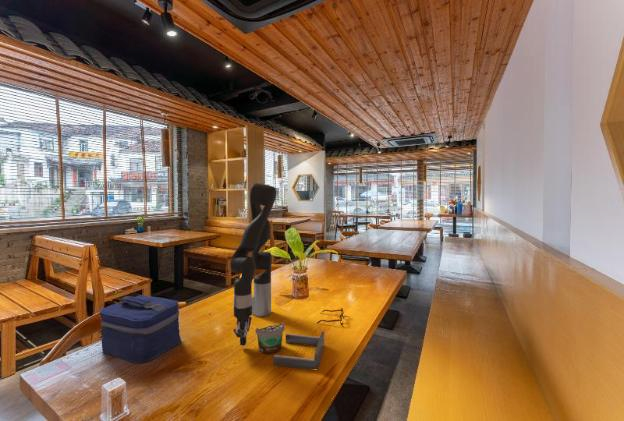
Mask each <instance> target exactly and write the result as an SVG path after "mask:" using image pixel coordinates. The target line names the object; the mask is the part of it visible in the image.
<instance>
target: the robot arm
mask: <svg viewBox="0 0 624 421" xmlns="http://www.w3.org/2000/svg"><path fill="white" fill-rule="evenodd" d="M249 190H250V191H249V204H250V213H251V219H250V220H251V222H249V224H248V225H247V226H246V227H245V229H244V231H243V234H242V237H241V241H240V244H239V245H238V247H237V248H236V249H235V250H234V251H235V252H234V253H233V254H232V256H231V258H230V262H229V267H230V270H232V272H234V273H239V274H241V277H238V278H236V279H235V280H234V283H233V317H234V318H235V319H236V327H235V328H233V332H234V335H235V336H236V338H239V345H240V346H243V347H244V346H246V345H247V336H248V332H249V331H250V327H251V323H252V319H253V318H252V315H253V316H255V317H261V318H262V317H267V316H270V315H271V313H272V259H273V258H272V254H271V252H270V251H260V250H261V248H262V247H264V245H265V244H266V243H267V242H268V241H269V240H270V237H271V223H270V221H269V219H268V218H269V217H270V214H271V211H272V209H273V206H274V204H275V202H276V198H277V188H276V187H275V186H272V185H269V184H268V185H267V184H264V183H263V184H262V183H258V182H256V183H253V184H252V185H251V187H250V189H249ZM261 206H264V207H263V208H262V207H261ZM249 253H250V256H248V255H249ZM258 270H263V271H262V272H261V273H259V274H256V275H255V272H256V271H258ZM254 275H255V276H254ZM252 284H253V289H252ZM252 292H253V293H252Z"/></svg>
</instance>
